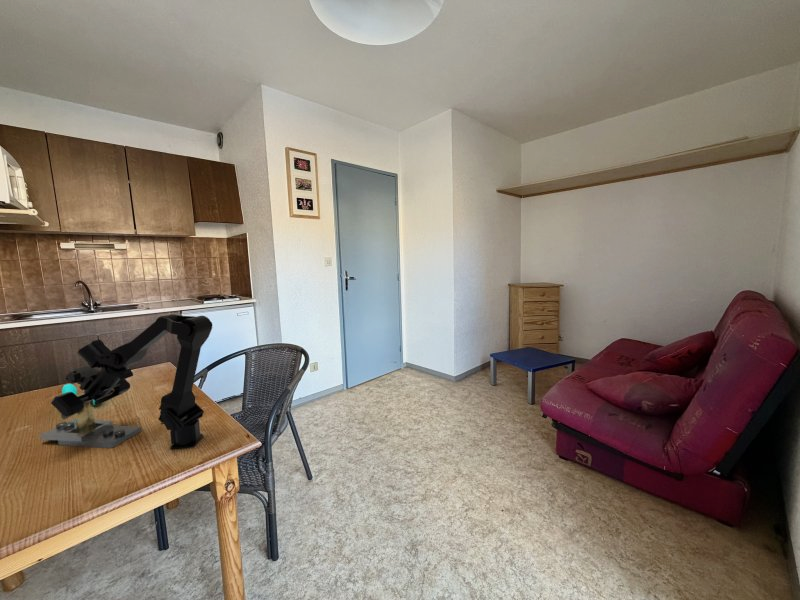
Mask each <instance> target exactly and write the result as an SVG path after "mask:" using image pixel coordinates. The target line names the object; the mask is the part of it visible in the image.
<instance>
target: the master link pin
mask: <svg viewBox="0 0 800 600" xmlns="http://www.w3.org/2000/svg"><path fill="white" fill-rule="evenodd" d="M83 394H85V393H84V391H81V392H79V393H78V392H77V394H75V395H76V396H77V397H78V396H81V395H83ZM94 406H95V405H93V400H91V401H88V402H86V403H84V407H83V409H82V410H80V412H78V413H76V414H74V416H75V418H74V419H76V427H77V433H82V434H85V433H87V432H89V431H91V430H93V429H95V428H96V424H95V420H96V417H95V416H96V415H95V407H94Z"/></svg>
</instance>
